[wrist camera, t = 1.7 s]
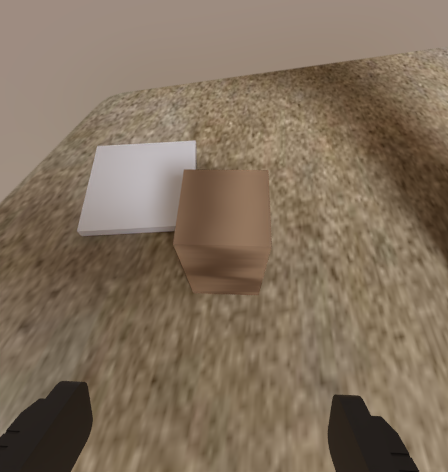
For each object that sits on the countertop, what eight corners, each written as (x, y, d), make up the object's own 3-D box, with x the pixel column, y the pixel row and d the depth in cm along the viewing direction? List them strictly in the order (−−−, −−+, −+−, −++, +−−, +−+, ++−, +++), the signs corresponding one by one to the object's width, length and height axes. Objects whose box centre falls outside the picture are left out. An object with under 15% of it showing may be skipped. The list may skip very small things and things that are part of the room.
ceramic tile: (196, 146, 35) (195, 140, 34) (196, 229, 29) (195, 224, 28) (100, 152, 35) (97, 146, 34) (81, 236, 29) (76, 231, 28)
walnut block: (257, 237, 28) (268, 170, 20) (258, 295, 25) (271, 246, 17) (198, 236, 29) (183, 169, 20) (193, 293, 26) (173, 244, 17)
